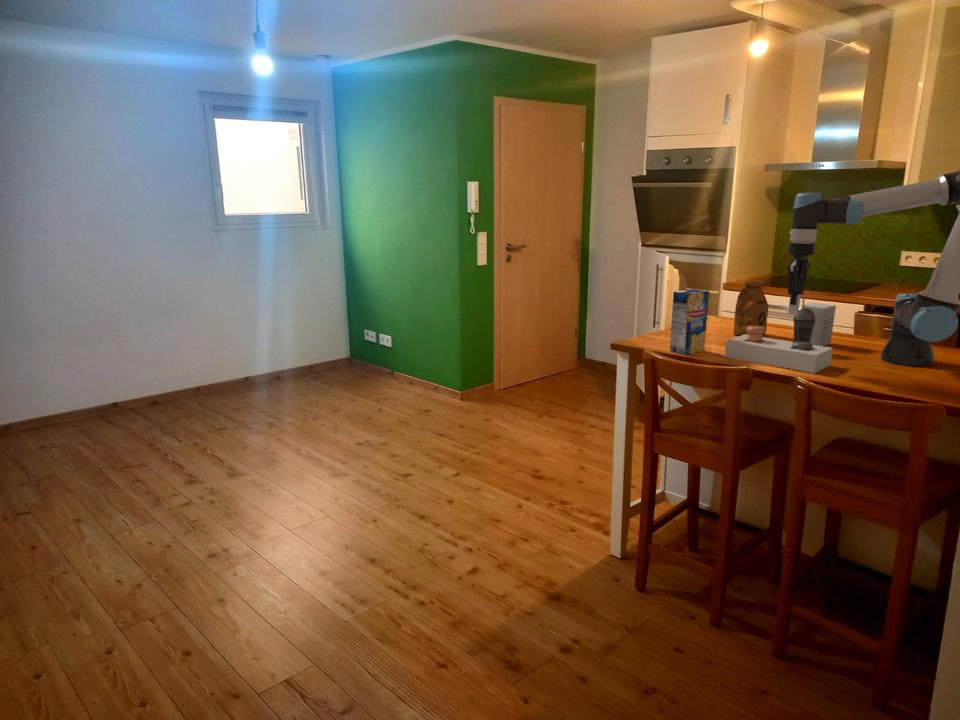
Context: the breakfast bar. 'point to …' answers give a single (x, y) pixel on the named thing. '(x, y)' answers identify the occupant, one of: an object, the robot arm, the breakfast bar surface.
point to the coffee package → (750, 308)
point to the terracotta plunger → (755, 333)
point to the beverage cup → (803, 324)
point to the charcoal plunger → (802, 345)
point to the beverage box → (689, 321)
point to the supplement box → (821, 323)
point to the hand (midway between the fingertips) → (793, 314)
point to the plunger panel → (778, 354)
